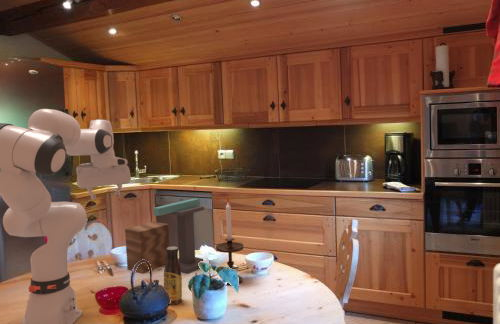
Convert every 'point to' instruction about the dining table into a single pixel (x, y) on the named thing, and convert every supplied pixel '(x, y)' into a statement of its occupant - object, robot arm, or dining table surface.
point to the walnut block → (147, 245)
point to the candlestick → (230, 241)
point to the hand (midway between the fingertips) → (105, 197)
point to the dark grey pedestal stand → (187, 239)
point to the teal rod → (176, 206)
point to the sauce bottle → (173, 276)
